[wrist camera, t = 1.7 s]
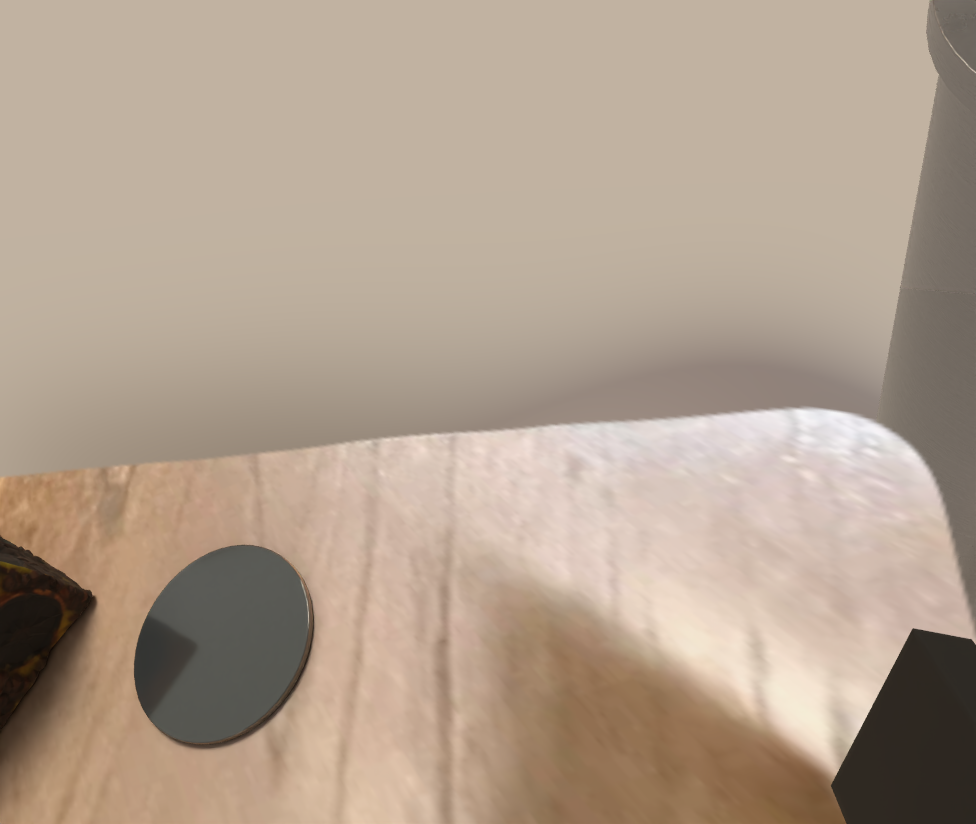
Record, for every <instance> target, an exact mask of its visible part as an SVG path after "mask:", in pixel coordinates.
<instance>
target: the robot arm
mask: <svg viewBox="0 0 976 824" xmlns="http://www.w3.org/2000/svg"><path fill="white" fill-rule="evenodd" d="M831 787H832V789H833V792H834V794H835V797H836V799H837V801H838V804H839V806H840V809H841V811H842V814H843V816H844V818H845V821H846V823H847V824H976V645H975V643H974V642H973V641H972V639H966V638H961V637H956V636H950V635H945V634H940V633H934V632H929V631H924V630H919V629H912V631H911V633H910V635H909V637H908V639H907V641H906V642H905V644H904V646H903V648H902V650H901V652H900V654H899V656H898V658H897V660H896V662H895V664H894V666H893V667H892V669H891V671H890V673H889V675H888V677H887V679H886V681H885V683H884V685H883V687H882V689H881V690H880V692H879V694H878V696H877V698H876V700H875V702H874V704H873V706H872V708H871V710H870V712H869V713H868V715H867V717H866V719H865V721H864V723H863V725H862V727H861V729H860V731H859V733H858V735H857V736H856V738H855V740H854V742H853V744H852V746H851V748H850V750H849V752H848V754H847V756H846V758H845V759H844V761H843V763H842V765H841V767H840V769H839V771H838V773H837V775H836V777H835V779H834V781H833V782H832V784H831Z"/></svg>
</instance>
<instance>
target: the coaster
mask: <svg viewBox="0 0 976 824" xmlns="http://www.w3.org/2000/svg"><path fill="white" fill-rule="evenodd" d="M312 631H313V611H312V603H311V599H310V595H309V592H308V589H307V587H306V584H305V582H304V580H303V579H302V577H301V575H300V574H299V572H298V571H297V570H296V569H295V567H294V566H293V565H292V564H291V563H290V562H288V561H287V560H286V559H285V558H283V557H282V556H280V555H279V554H277V553H275V552H273V551H271V550H269V549H266V548H263V547H259V546H254V545H237V546H229V547H225V548H221V549H218V550H215V551H213V552H210V553H208V554H206V555H204V556H202V557H200V558H198V559H197V560H195V561H194V562H192V563H191V564H189V565H188V566H187V567H186V568H184V569H183V570H182V571H181V572H179V573H178V574H177V575H176V576H175V577H174V578H173V579H172V580H171V581H170V582H169V584H168V585H167V586H166V587H165V588H164V590H163V591H162V592H161V593H160V595H159V596H158V598H157V599H156V601H155V602H154V604H153V606H152V607H151V609H150V611H149V613H148V615H147V617H146V619H145V622H144V624H143V626H142V629H141V632H140V635H139V638H138V643H137V647H136V652H135V661H134V678H135V686H136V691H137V695H138V699H139V701H140V703H141V706H142V708H143V710H144V712H145V713H146V715H147V716H148V718H149V719H150V721H151V722H152V723H153V724H154V725H155V726H156V727H157V728H158V729H159V730H161V731H162V732H163V733H164V734H166V735H168V736H170V737H172V738H174V739H177V740H180V741H183V742H186V743H192V744H199V745H204V744H216V743H221V742H225V741H228V740H231V739H234V738H237V737H239V736H241V735H243V734H245V733H247V732H249V731H250V730H252V729H253V728H255V727H256V726H258V725H259V724H261V723H262V722H263V721H264V720H265V719H267V718H268V717H269V716H270V715H271V714H272V713H273V712H274V711H275V710H276V709H277V708H278V707H279V706H280V705H281V703H282V702H283V701H284V700H285V698H286V697H287V696H288V694H289V693H290V691H291V690H292V688H293V687H294V685H295V683H296V682H297V680H298V678H299V676H300V674H301V672H302V669H303V667H304V664H305V662H306V659H307V656H308V653H309V649H310V644H311V639H312Z"/></svg>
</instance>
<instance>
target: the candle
mask: <svg viewBox="0 0 976 824" xmlns="http://www.w3.org/2000/svg"><path fill="white" fill-rule="evenodd" d="M92 598H93V597H92V592H91V591H90V590H84V589H82V588H81V587H80V586H79V585H78V584H77V583H76V582H75V581H73V580H72V579H70V578H69V577H67V576H66V575H65V573H63V572H61V571H59V570H57V569H55V568H54V567H52V566H50V565H49V564H48V563H47V562H45V561H44V560H42V559H41V558H39V557H37V556H33V554H32V553H31V552H30V551H29V550H24V549H23V548H22V547H17V546H16V545H14V544H12V543H11V542H9V541H7V540H5V539H3V538H1V537H0V729H1V728H2V727H3V725H4V724H5V722H6V721H7V719H8V718H9V717H10V715H11V714H12V712H13V711H14V709H15V708H16V706H17V705H18V703H19V702H20V701H21V699H22V698H23V696H24V695H25V694H26V693H27V691H28V690H29V689H30V688H31V687H32V685H33V684H34V682H35V680H36V678H37V676H38V674H39V672H40V670H41V669H43V668H44V667H45V666H46V661H47V656H48V654H49V652H50V650H51V648H52V647H53V646H54V645H55V644H56V642H57V641H58V640H59V639H60V638H61V636H62V635H63V634H64V633H65V632H66V630H67V629H68V628H69V627H70V626H71V625H72V624H73V622H74V621H75V620H76V619H77V618H78V617H79V615H80V614H81V613H82V612H83V611H84V610H85V609H86V607H87V605H88V604H89V602H90V601H91V599H92Z"/></svg>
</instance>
